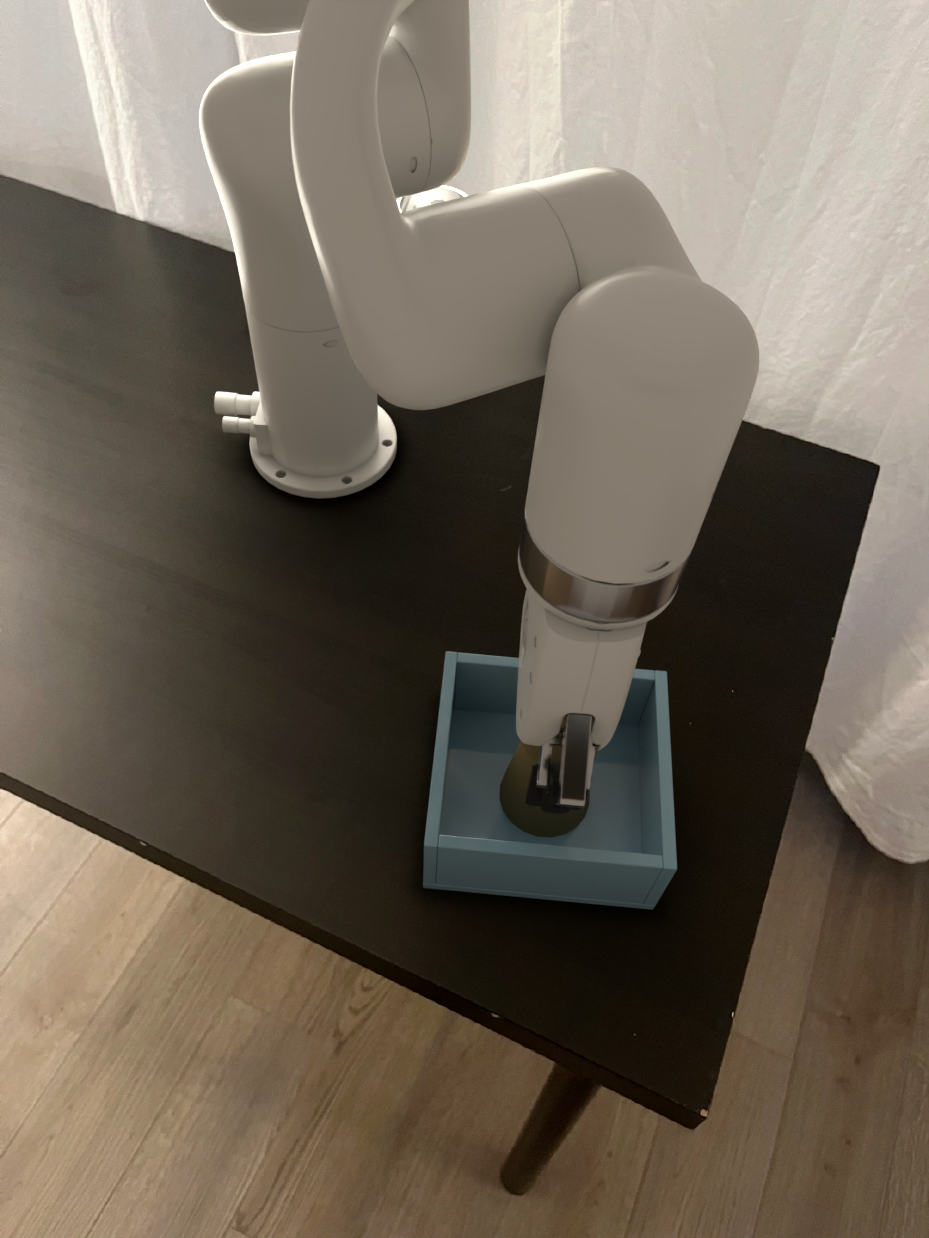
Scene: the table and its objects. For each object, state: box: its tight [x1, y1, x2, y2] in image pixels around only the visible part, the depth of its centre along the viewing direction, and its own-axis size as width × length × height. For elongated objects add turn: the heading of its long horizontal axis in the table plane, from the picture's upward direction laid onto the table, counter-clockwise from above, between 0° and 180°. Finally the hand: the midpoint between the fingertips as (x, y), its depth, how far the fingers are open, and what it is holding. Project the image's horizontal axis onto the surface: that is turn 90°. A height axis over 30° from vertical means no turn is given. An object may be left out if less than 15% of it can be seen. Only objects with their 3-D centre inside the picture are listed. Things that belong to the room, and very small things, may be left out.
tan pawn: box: [499, 717, 599, 838], centre depth 59 cm, size 6×6×11 cm
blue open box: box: [422, 650, 678, 911], centre depth 61 cm, size 15×14×7 cm
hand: (555, 727), depth 57 cm, fingers open, 9 cm apart
